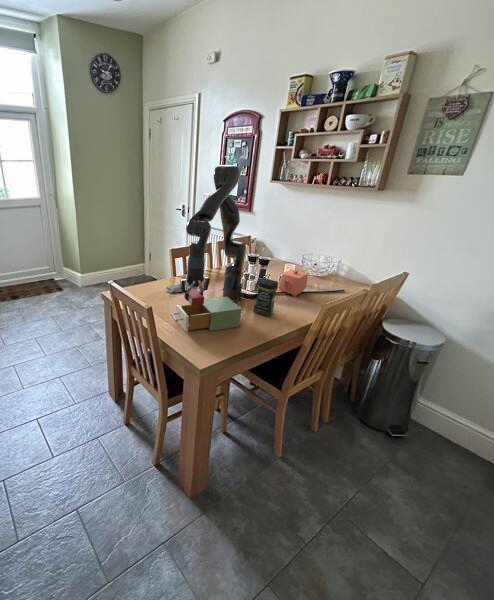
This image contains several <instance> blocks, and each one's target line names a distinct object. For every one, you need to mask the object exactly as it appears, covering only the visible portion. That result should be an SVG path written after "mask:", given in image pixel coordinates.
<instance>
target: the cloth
mask: <svg viewBox="0 0 494 600" xmlns="http://www.w3.org/2000/svg"><path fill="white" fill-rule="evenodd" d="M187 283H188V282H186V284H185V288H186V285H187ZM166 289H168V291H167V293H170V294H171V293H172V294H174V293H175V294H176V293H183V292H182V291H181V285H180V283H179V284H178V285H172V286H167V287H166ZM192 289H195V287H192ZM192 289H191V290H192Z"/></svg>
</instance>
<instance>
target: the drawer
mask: <svg viewBox="0 0 494 600" xmlns="http://www.w3.org/2000/svg"><path fill="white" fill-rule="evenodd" d="M175 306H176V309H175V312H170V316H171V318H172V319H173V320H174V321H175V322H176V323H178V324H179V325H180V327H181V328H182V329H183V330H184V332H185V333H188V332H189V330H190V331H191V330H192V331H193V330H199V329H208V328H207V327H210V318H211V313H210V312H209V311H208V310H207V309H206V308H205V307H204V306H203V305H202V304H200V305H191V304H190V303H189V304H188V303H187V304H181V306H180V304H176V305H175Z"/></svg>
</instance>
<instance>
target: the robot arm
mask: <svg viewBox="0 0 494 600" xmlns="http://www.w3.org/2000/svg"><path fill="white" fill-rule="evenodd" d="M240 169H241V168H240V167H239V166H238V165H233V164H219V165H216V166H215V167H214V169H213V183H214V187H215V191H214V192H213V193H211V194H210V195H209V196H207V198H206V199H205V200H204V201H203V203H202V205H201V207H200V208H199V210H197V212H196V213H195V214H194V215H192V217H190V219H189V220H188V221H187V223H186V226H185V231H186V234H187V235H188V236H191V237H197V238H198V240H194V241H191V242H190V243H189V247H188V258H187V267H186V268H187V269H186V277H185V278H180V280H179V284H180V285H181V291H182V292H181V293H183V294H184V293H185V298H184V300H185V301H187V302H188V300H189V291H190V290H191V289H192V287H194V288H198V289H199V290H198V292H199V293H200V294H202V295H203V296H204V292H205V291H208V290H209V285H210V281H211V280H210V277H208V276H205V263H206V256H205V255H206V247H207V243H208V240H209V237H210V234H211V232H212V225H211V223H210V222H212V221H213V219H214V218H215V216H216V214H217V213H218V210H219V214H220V220H221V227H222V234H223V251H224V254H225V255H224V256H226V257H228V258H230V259H235V261H234V262H228V263H227V264H225V272H224V279H223V288H222V297H228V298H229V299H230V300H232V301H233V302H238V301H239V300H241V298H242V297H243V296H245V297H246V298H253V297H257V295H258V293H254V294H251V295H248V294H247V293H246V292H243V291H242V288H243V283H242V277H243V268H244V266H245V259H246V255H247V244H246V243H245V242H242V241H236V240H234V233H235V231H236V230H237V228H238V227H239V225H240V222H241V216H240V214H241V213H240V209H239V206H238V204H237V203H236V201H235V200H234V198H233V197H232V196H231V195H230V194H231V193H232V192H233V190H234V189H235V188H236V187H237V185H238V183H239V182H240V179H241V170H240ZM186 282H188V283H187V285H186V288H185V284H186ZM202 283H203V284H202ZM339 292H345V289H337V290H315V291H313V290H312V291H310V290H309V291H303V292H301V293H300V294H323V293H324V294H325V293H339ZM277 294H279V295H280V294H288V293H287V292H281V291H276V293H275V295H277Z"/></svg>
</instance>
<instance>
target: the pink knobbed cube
mask: <svg viewBox="0 0 494 600" xmlns="http://www.w3.org/2000/svg"><path fill="white" fill-rule="evenodd" d="M307 284H308V273H307V272H305V271H303V270H298V269H289V270H286V271H284V272H283V273H282V274H281V277H280V279H279V282H278V291H279V292H287V293H286V294H290V295H291V296H292V297H297V296H298V295H299V294H302V293H301V292H305V290H306V289H307Z"/></svg>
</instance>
